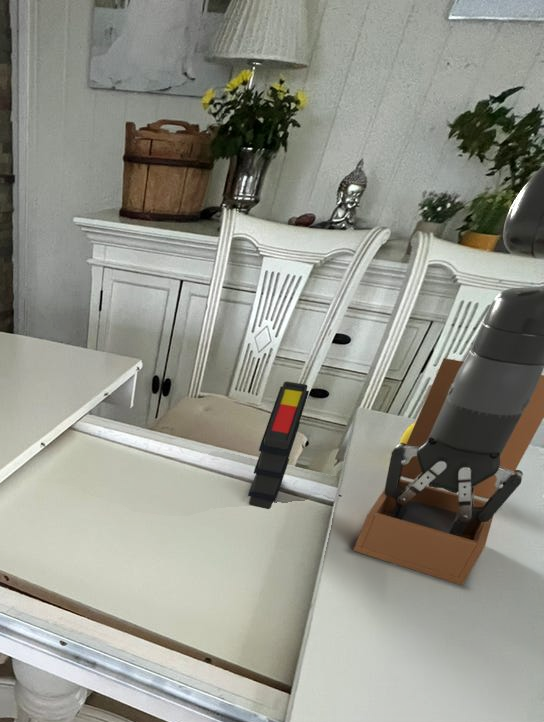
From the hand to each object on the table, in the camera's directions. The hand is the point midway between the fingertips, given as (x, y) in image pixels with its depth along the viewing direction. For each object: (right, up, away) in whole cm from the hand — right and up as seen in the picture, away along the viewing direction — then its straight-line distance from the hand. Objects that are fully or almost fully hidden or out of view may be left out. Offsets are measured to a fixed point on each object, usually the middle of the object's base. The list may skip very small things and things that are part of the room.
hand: (419, 536), depth 75 cm
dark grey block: (0, -1, 0) cm, 1 cm away
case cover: (+5, +13, -2) cm, 14 cm away
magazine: (-16, +8, +11) cm, 21 cm away
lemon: (+11, +18, +18) cm, 28 cm away
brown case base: (0, -1, +1) cm, 2 cm away
